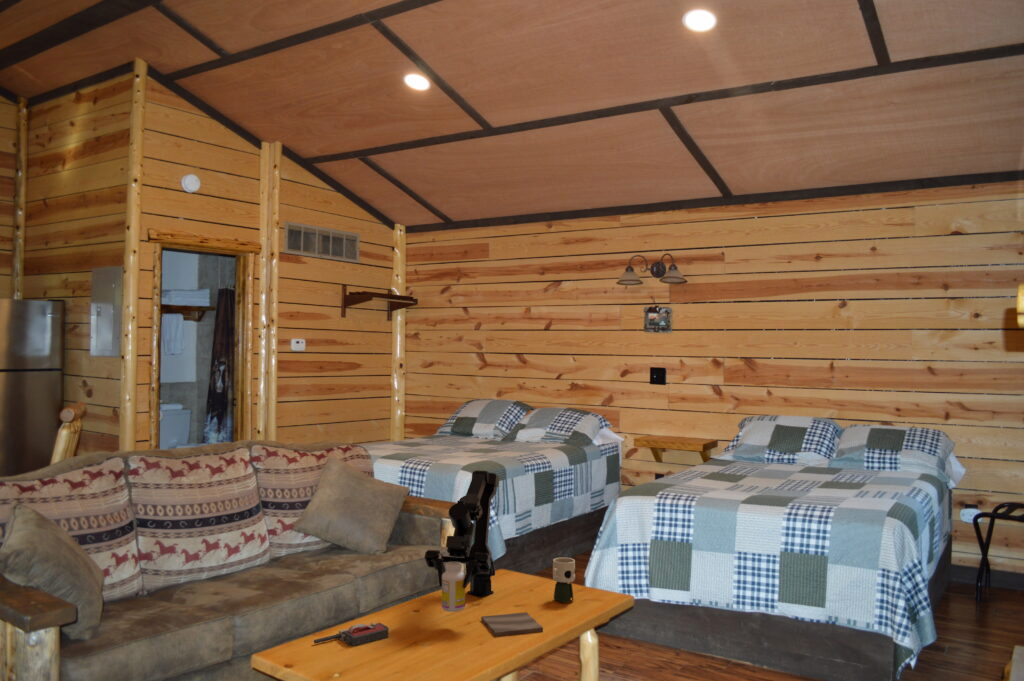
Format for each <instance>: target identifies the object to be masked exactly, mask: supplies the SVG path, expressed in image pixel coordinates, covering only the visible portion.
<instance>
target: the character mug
mask: <svg viewBox="0 0 1024 681" xmlns="http://www.w3.org/2000/svg"><path fill="white" fill-rule="evenodd" d="M575 572H576V559H574V558H571V557H564V556H563V557H556V558H555V557H554V558H553V559H552V580H553V581H555V585H554V590H553V591H554V593H553V600H555V601H557V602H560V603H570V602H571V601H575V600H574V589H573V584H572V582H574V581H575V580H576V573H575Z"/></svg>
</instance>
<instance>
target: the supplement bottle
mask: <svg viewBox="0 0 1024 681" xmlns="http://www.w3.org/2000/svg"><path fill="white" fill-rule="evenodd" d="M444 567H445V572H444V573H443V574H442V587H441V608H442V609H443V611H445V612H451V613H453V612H455V613H457V612H461V611H463V610H464V609H465V607H466V588H464V587H463V585H464V580H465V576H466V573H465V572H463V571H462V567H463V563H460V562H445V563H444Z"/></svg>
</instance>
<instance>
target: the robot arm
mask: <svg viewBox="0 0 1024 681" xmlns="http://www.w3.org/2000/svg"><path fill="white" fill-rule="evenodd" d="M499 484H500V477H499V476H498V475H497V474H496V472H495V473H494V472H489V471H487V470H483V469H482V470H481V469H480V470H479V469H478V470H477V469H476V470H473V471H472V473H471V481H470V483H469V486H468V489H467V491H466V493H465V495H464V496H461V497H460V498H459V500H457V502H456V503H455V504H453V505H452V506H450V508H449V509H448V515H449V519H450V522H451V525H452V527H453V528H454V530H453V534H452V535H446V542H445V548H447V549H446V551H447V553H448V555H447V554H446V555H445V554H442V553H441V550H439V549H427V550H426V551H425V553H424V560H425V562H426V565H427V567H429V568H434V570H436V571H437V575H438V582H439V584H438V585H439V587H440V588H442V574H443V573H444V572H446V568H445V563H447V562H460V563H462V565H463V564H465V571H466V572H465V580H464V585H463V587H464V588H465V589H466V588H467V587H468V585H470V586H469V590H468V591H466V594H467V595H468V594H469V595H472V596H476V597H480V598H482V597H486V596H488V595H492V594H494V592H495V591H493V590H492V580H491V577H493V576H496V567H495V562H494V559H493V556H492V550H491V549H490V547H489V544H488V540H489V530H490V519H491V518H490V517H491V506H492V505H491V504H492V500H493V498H494V497H495V495H496V494H497V489H498V488H499ZM473 522H475V524H474V523H473ZM473 537H474V538H473ZM472 541H473V543H472Z"/></svg>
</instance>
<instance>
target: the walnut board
mask: <svg viewBox="0 0 1024 681" xmlns="http://www.w3.org/2000/svg"><path fill="white" fill-rule="evenodd" d="M480 619H481V622H482V623H483V624H484V626H485V627H486V628H487V629H488V630H489V631H490V632H491V633H492V634H493V636H494V637H495V638H499V637H507V636H515V635H516V636H517V635H528V634H536V633H543V632H544V628H543V626H542V625H541V624H540V623H539V622H537V620H535V619H534V618H533V617H532V616H531V615H530V614H529V613H528V612H527V611H526V612H525V611H524V612H515V613H505V614H504V613H503V614H494V615H493V614H492V615H485V616H481V618H480Z"/></svg>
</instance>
